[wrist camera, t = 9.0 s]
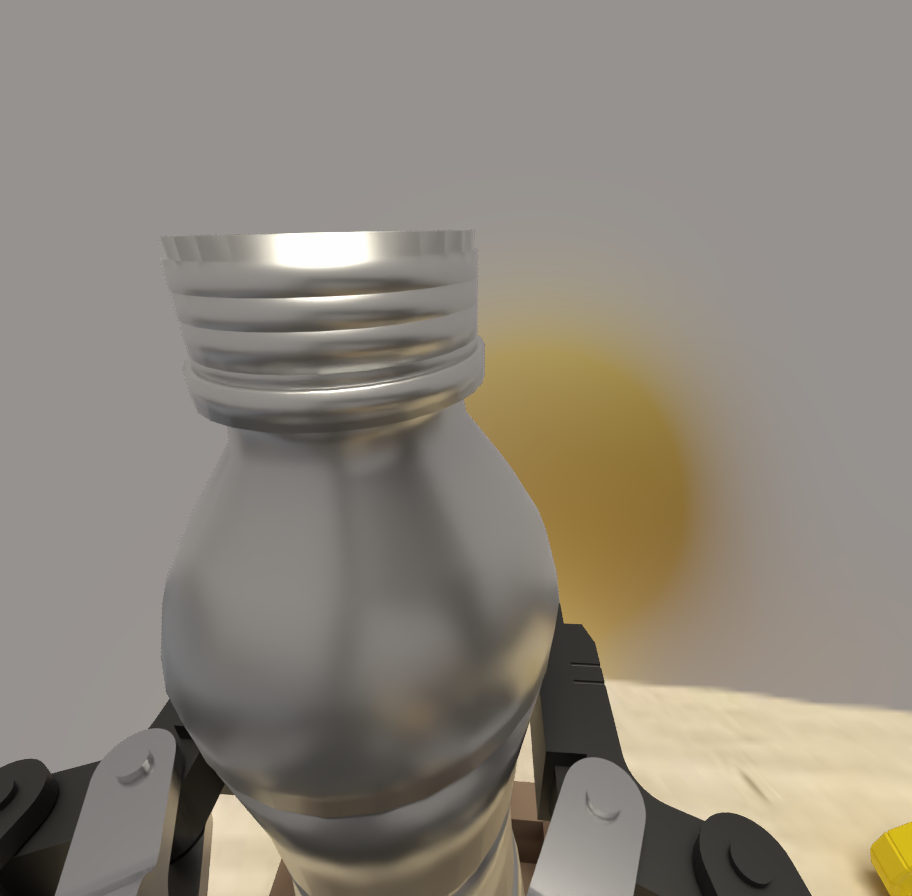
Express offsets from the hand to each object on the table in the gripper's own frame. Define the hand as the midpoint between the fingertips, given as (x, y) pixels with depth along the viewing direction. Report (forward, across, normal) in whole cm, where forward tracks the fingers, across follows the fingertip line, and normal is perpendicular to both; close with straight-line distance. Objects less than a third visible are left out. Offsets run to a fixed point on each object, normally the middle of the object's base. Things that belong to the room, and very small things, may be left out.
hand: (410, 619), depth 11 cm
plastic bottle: (-2, 0, +11) cm, 11 cm away
